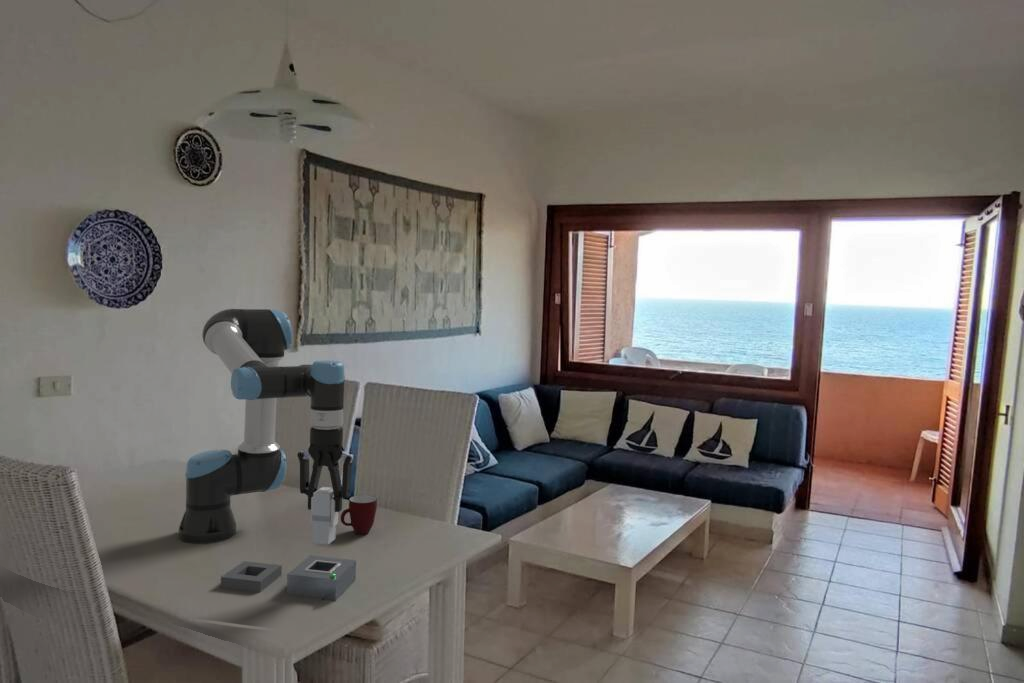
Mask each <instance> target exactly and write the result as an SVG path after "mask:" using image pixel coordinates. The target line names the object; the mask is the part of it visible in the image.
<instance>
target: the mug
mask: <svg viewBox="0 0 1024 683" xmlns="http://www.w3.org/2000/svg"><path fill="white" fill-rule="evenodd" d="M377 509H378V499H377V497H376V496H373V495H369V494H360V495H355V496H351V497H350V498H349V500H348V508H346V509H344V510H343V511H342V512H341V514H340V522H341V523H342V524H343V525H344V526H348V527H352V529H353V530H354V533H355V534H357V535H366V534H369V533H370V531H371V529H372V527H373V525H374V523H375V518H376V514H377V513H376V512H377ZM348 513H349V517H350V518H349V519H350V522H346V521H345V516H346V515H347V514H348Z"/></svg>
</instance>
